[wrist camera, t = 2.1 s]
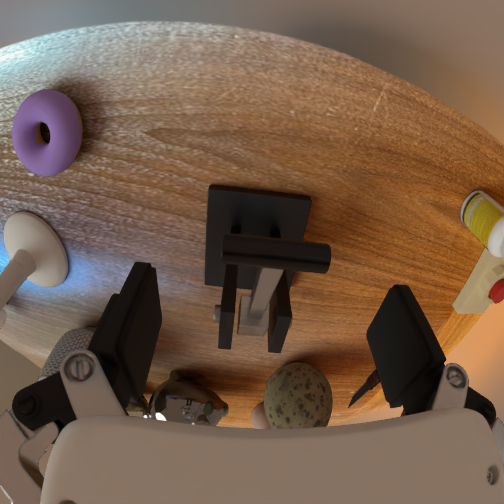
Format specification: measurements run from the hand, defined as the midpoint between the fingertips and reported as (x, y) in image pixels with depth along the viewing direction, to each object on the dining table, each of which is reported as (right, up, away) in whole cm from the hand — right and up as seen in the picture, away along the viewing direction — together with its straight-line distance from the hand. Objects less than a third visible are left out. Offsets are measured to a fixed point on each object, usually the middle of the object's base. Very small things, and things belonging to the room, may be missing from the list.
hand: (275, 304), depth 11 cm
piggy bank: (-12, -22, +38) cm, 46 cm away
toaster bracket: (-1, +3, +20) cm, 21 cm away
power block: (+37, -1, +23) cm, 44 cm away
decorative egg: (+6, -17, +35) cm, 39 cm away
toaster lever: (0, 0, +8) cm, 8 cm away
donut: (-22, +15, +12) cm, 30 cm away
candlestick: (-32, +2, +21) cm, 39 cm away
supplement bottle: (+28, +8, +17) cm, 33 cm away
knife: (+22, -23, +38) cm, 50 cm away
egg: (+2, -30, +43) cm, 53 cm away
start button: (+37, -3, +20) cm, 42 cm away
